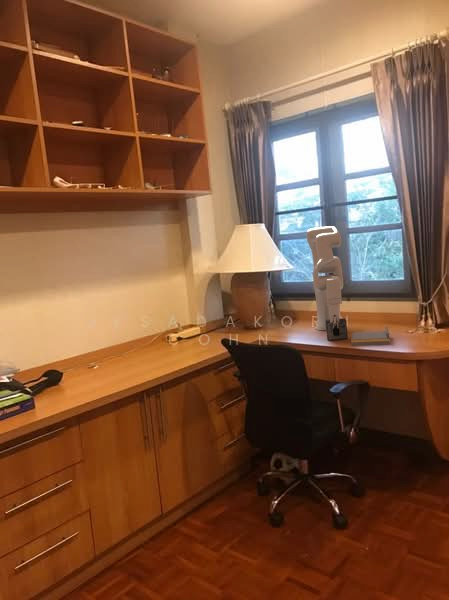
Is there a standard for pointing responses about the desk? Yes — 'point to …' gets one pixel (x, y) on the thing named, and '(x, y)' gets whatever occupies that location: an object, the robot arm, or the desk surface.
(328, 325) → the small box
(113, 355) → the desk surface
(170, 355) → the desk surface
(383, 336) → the dock
